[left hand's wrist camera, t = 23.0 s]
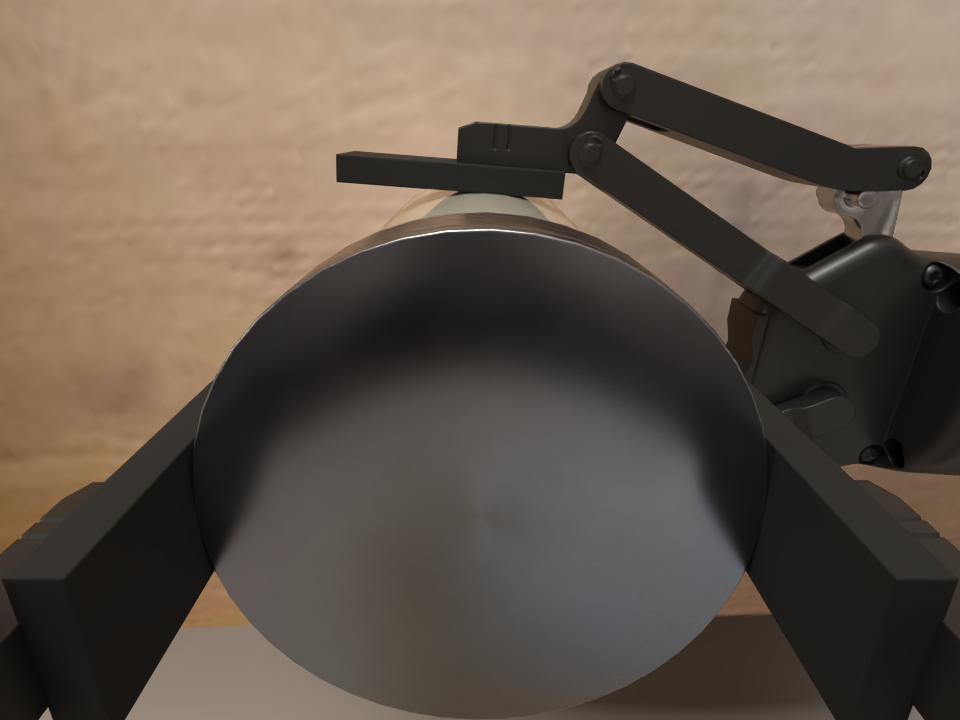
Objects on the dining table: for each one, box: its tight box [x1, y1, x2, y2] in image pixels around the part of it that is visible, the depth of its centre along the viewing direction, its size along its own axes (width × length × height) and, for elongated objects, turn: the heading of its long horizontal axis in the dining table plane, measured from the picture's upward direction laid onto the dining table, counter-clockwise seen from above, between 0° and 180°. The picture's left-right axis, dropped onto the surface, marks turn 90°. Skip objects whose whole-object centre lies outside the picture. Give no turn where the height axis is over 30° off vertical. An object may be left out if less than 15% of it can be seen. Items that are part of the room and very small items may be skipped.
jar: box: [379, 189, 580, 231], centre depth 19 cm, size 9×9×15 cm
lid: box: [192, 212, 768, 719], centre depth 11 cm, size 10×10×2 cm
